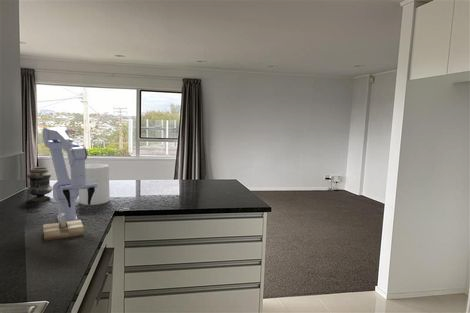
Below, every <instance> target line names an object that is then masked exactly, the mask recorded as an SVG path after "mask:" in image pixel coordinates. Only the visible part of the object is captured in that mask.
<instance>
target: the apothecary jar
mask: <svg viewBox="0 0 470 313" xmlns="http://www.w3.org/2000/svg"><path fill="white" fill-rule="evenodd" d="M26 176H27V178H28V179H29V181H30V182H29V187H28V188H27V193H28V194H29V195H32V196H34V197H32V198H31V199H30V201H31V202H46V201H48V200H51V197H50V196H48V194H50V193H52V192H53V186H52V185H51V183H50V178H51V177H52V172H51V171H50V170H49V168H48V167H46V166H36V167H35V166H34V167H31V168H30V172H28V174H27V175H26Z"/></svg>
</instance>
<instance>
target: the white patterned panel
mask: <svg viewBox="0 0 470 313" xmlns="http://www.w3.org/2000/svg"><path fill="white" fill-rule="evenodd" d="M122 208H123V209H128V210H130V209H129V208H130V207H122ZM123 209H120V210H119V211H118V212H124V211H125V210H123Z"/></svg>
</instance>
